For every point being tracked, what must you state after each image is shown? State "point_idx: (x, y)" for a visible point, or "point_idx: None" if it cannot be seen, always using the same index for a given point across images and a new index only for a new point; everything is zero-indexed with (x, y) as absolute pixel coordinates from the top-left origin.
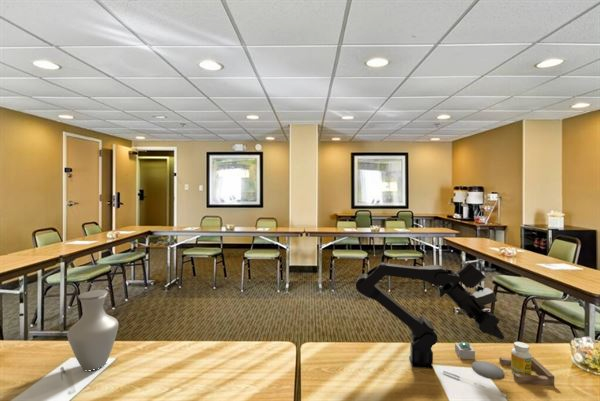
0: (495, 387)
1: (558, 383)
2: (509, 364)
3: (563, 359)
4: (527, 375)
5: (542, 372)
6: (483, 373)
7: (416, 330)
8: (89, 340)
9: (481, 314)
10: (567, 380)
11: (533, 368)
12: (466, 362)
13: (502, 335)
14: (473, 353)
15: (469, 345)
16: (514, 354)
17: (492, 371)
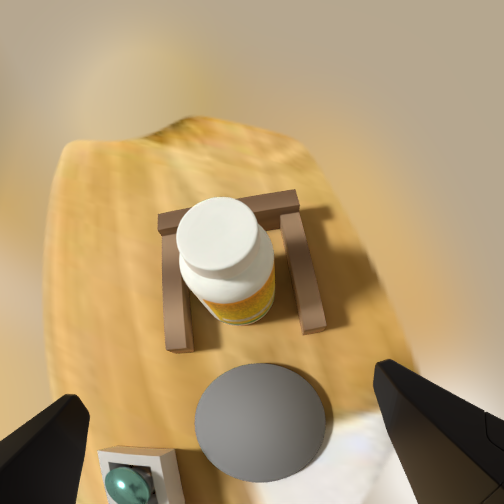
0: None
1: None
2: (189, 318)
3: (124, 150)
4: (301, 278)
5: (258, 217)
6: (310, 450)
7: None
8: None
9: (9, 496)
10: (241, 167)
11: None
12: (214, 490)
13: (414, 379)
14: (165, 460)
15: (135, 475)
16: (248, 295)
17: (278, 410)
